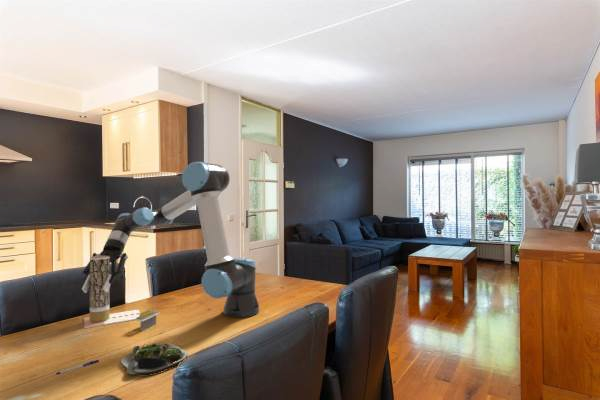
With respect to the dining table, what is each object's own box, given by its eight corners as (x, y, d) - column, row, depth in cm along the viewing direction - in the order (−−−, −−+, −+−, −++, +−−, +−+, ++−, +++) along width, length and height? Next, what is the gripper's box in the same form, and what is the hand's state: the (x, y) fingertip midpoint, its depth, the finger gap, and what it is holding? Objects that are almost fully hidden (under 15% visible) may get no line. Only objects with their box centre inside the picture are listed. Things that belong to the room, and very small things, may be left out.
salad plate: (107, 360, 102) (107, 345, 102) (165, 342, 115) (165, 329, 115) (132, 384, 89) (132, 367, 89) (194, 361, 102) (194, 346, 102)
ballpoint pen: (98, 361, 101) (98, 358, 101) (99, 362, 101) (99, 359, 101) (55, 374, 93) (55, 371, 93) (56, 376, 93) (56, 372, 93)
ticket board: (142, 318, 138) (142, 317, 138) (84, 328, 127) (84, 327, 127) (138, 310, 148) (138, 309, 148) (84, 319, 137) (84, 317, 137)
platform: (115, 335, 121) (115, 317, 121) (150, 319, 138) (150, 303, 138) (143, 339, 118) (143, 320, 118) (175, 322, 135) (175, 305, 135)
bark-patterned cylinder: (100, 323, 130) (100, 258, 130) (85, 322, 132) (85, 257, 132) (113, 317, 137) (113, 255, 137) (99, 316, 138) (99, 255, 138)
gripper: (142, 248, 150) (124, 295, 134) (95, 248, 149) (72, 295, 133) (136, 238, 145) (117, 285, 129) (88, 238, 144) (63, 285, 128)
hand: (94, 290), depth 131 cm, fingers open, 7 cm apart
